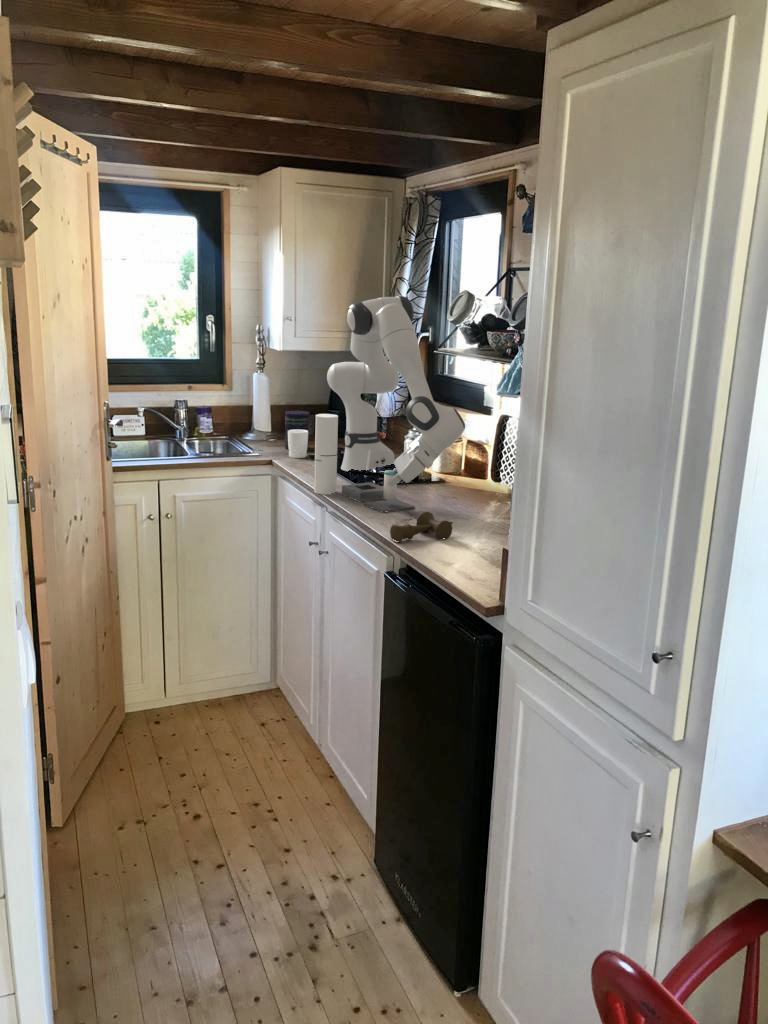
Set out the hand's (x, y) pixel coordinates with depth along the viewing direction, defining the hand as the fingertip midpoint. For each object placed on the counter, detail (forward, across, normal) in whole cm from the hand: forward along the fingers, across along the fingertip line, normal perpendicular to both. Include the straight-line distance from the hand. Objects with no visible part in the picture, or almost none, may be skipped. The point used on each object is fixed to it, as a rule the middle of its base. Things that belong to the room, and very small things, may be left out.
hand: (388, 482), depth 257 cm
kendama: (0, +32, +11) cm, 33 cm away
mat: (+5, 0, +6) cm, 8 cm away
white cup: (+26, -74, -15) cm, 80 cm away
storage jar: (+26, -90, -16) cm, 95 cm away
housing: (+10, -12, +1) cm, 16 cm away
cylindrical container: (+19, -18, -8) cm, 27 cm away
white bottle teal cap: (+3, 0, +4) cm, 5 cm away
